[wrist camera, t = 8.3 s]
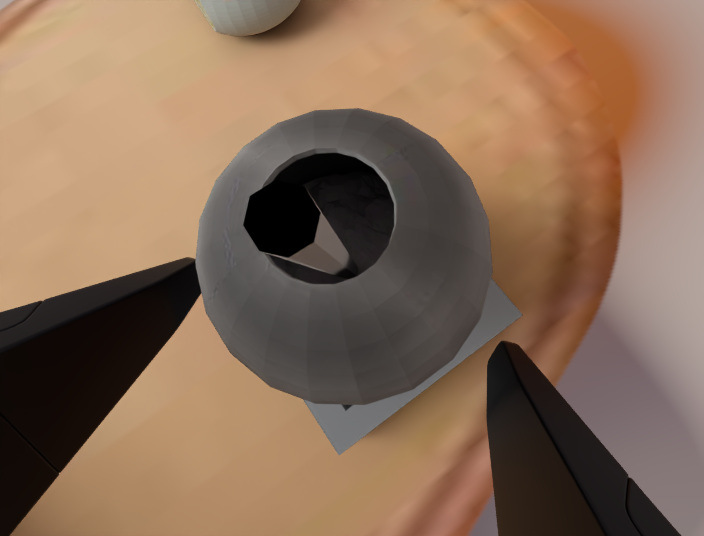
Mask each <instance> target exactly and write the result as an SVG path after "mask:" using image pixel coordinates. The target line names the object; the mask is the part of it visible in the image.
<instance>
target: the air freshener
mask: <svg viewBox="0 0 704 536" xmlns="http://www.w3.org/2000/svg"><path fill="white" fill-rule="evenodd" d="M194 1H195V2H196V4H197V5H198V7H199V9H200V10H201V12H202V13H203V15H204V16H205V18H206V19H207V21H208V22H209V24H210V25H211V26H212V28H213V29H214V30H215V31H216V32H218V33H221V34H226V35H232V36H247V35H254V34H258V33H262V32H264V31H267V30H269V29H271V28H273V27H275V26H277V25H278V24H280V23H281V22H282V21H284V20H285V19H286V18H287V17H288V16H289V15H290V14H291V13H292V12H293V11H294V10H295V9H296V7H297V6H298V4H299V3H300V1H301V0H194Z"/></svg>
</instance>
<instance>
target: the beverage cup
mask: <svg viewBox="0 0 704 536" xmlns="http://www.w3.org/2000/svg"><path fill="white" fill-rule="evenodd" d="M195 263H196V270H197V274H198V279H199V284H200V288H201V293H202V297H203V302H204V306H205V311H206V314H207V315H208V317H209V319H210V320H211V322H212V324H213V325H214V327H215V329H216V330H217V332H218V334H219V335H220V337H221V338H222V340H223V342H224V343H225V345H226V347H227V348H228V350H229V352H230V353H231V354H232V355H233V356H234V357H235V358H237V359H238V360H239V361H240V362H241V363H243V364H244V365H245V366H246V367H247V368H249V369H250V370H251V371H252V372H253V373H255V374H256V375H257V376H258V377H259V378H261V379H262V380H263V381H264V382H265V383H267V384H268V385H269V386H270V387H272V388H275V389H278V390H280V391H283V392H286V393H288V394H291V395H294V396H296V397H299V398H302V399H304V400H307V401H310V402H312V403H315V404H343V405H367V404H370V403H373V402H376V401H379V400H383V399H386V398H389V397H392V396H395V395H398V394H401V393H404V392H408V391H411V390H413V389H415V388H416V387H417V386H419V385H420V384H421V383H423V382H424V381H425V380H427V379H428V378H429V377H431V376H432V375H433V374H435V373H436V372H437V371H439V370H440V369H441V368H443V367H444V366H445V365H447V364H448V363H449V362H451V361H452V360H453V359H454V357H455V356H456V354H457V353H458V352H459V350H460V349H461V347H462V346H463V344H464V343H465V341H466V340H467V338H468V337H469V335H470V334H471V332H472V331H473V329H474V328H475V326H476V325H477V323H478V322H479V320H480V319H481V315H482V311H483V307H484V303H485V300H486V296H487V292H488V288H489V284H490V281H491V277H492V273H493V271H492V258H491V245H490V232H489V220H488V217H487V215H486V213H485V210H484V208H483V206H482V203H481V201H480V199H479V196H478V194H477V192H476V189H475V187H474V185H473V182H472V180H471V178H470V177H469V176H468V175H467V173H466V172H465V171H464V170H463V169H462V168H461V167H460V166H459V164H458V163H457V162H456V161H455V160H454V159H453V158H452V157H451V155H450V154H449V153H448V152H447V151H446V150H445V149H444V148H443V146H442V145H441V144H440V143H439V142H438V141H437V140H436V139H434V138H432V137H431V136H429V135H427V134H426V133H424V132H422V131H420V130H419V129H417V128H415V127H414V126H412V125H410V124H409V123H407V122H405V121H404V120H402V119H400V118H396V117H392V116H388V115H384V114H380V113H376V112H372V111H368V110H363V109H359V108H357V109H336V110H316V111H312V112H309V113H306V114H303V115H300V116H298V117H295V118H292V119H289V120H286V121H283V122H280V123H277V124H276V125H274V126H273V127H271V128H270V129H268V130H267V131H265V132H264V133H263V134H261V135H260V136H258V137H257V138H255V139H254V140H252V141H251V142H250V143H248V144H247V145H245V146H244V147H243V148H242V149H241V150H240V152H239V153H238V154H237V155H236V157H235V158H234V159H233V160H232V161H231V163H230V164H229V165H228V166H227V168H226V169H225V170H224V171H223V172H222V174H221V175H220V176H219V177H218V179H217V180H216V182H215V184H214V186H213V189H212V191H211V193H210V196H209V198H208V201H207V203H206V205H205V208H204V210H203V213H202V215H201V217H200V220H199V231H198V241H197V251H196V262H195Z"/></svg>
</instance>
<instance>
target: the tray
mask: <svg viewBox="0 0 704 536" xmlns="http://www.w3.org/2000/svg"><path fill="white" fill-rule="evenodd" d="M521 316H522V313H521V312H520V311H519V310H518V309H517V308H516V306H515V305H514V304H513V303H512V302H511V300H510V299H509V298H508V297H507V296H506V295H505V293H504V292H503V291H502V290H501V289H500V287H499V286H498V285H497V284H496V283H495V282H494V280H493V279H492V278H491V281H490V284H489V288H488V292H487V296H486V300H485V303H484V307H483V311H482V315H481V319H480V320H479V322H478V323H477V325H476V326H475V328H474V329H473V331H472V332H471V334H470V335H469V337H468V338H467V340H466V341H465V343H464V344H463V346H462V347H461V349H460V350H459V352H458V353H457V354H456V356H455V357H454V359H453V360H452V361H451V362H449V363H448V364H447V365H445V366H444V367H443V368H441V369H440V370H439V371H437V372H436V373H435V374H433V375H432V376H431V377H429V378H428V379H427V380H425V381H424V382H423V383H421V384H420V385H419V386H417V387H416V388H415V389H413V390H411V391H408V392H404V393H401V394H398V395H395V396H392V397H389V398H386V399H383V400H379V401H376V402H373V403H370V404H367V405H343V404H315V403H312V402H310V401H307V400H304V399H303V400H304V402H305V403H306V405H307V406H308V408H309V409H310V411H311V413H312V414H313V416H314V417H315V419H316V420H317V422H318V424H319V425H320V427H321V428H322V430H323V431H324V433H325V434H326V436H327V438H328V439H329V441H330V442H331V444H332V445H333V447H334V448H335V450H336V452H337V453H338V455H340V454H342V453H343V452H344V451H345V450H347V449H348V448H349V447H351V446H352V445H353V444H355V443H356V442H357V441H359V440H360V439H361V438H362V437H364V436H365V435H366V434H368V433H369V432H370V431H372V430H373V429H374V428H376V427H377V426H378V425H380V424H381V423H382V422H383V421H385V420H386V419H387V418H389V417H390V416H391V415H393V414H394V413H395V412H397V411H398V410H399V409H400V408H402V407H403V406H404V405H406V404H407V403H408V402H410V401H411V400H412V399H414V398H415V397H416V396H417V395H419V394H420V393H421V392H423V391H424V390H425V389H427V388H428V387H429V386H431V385H432V384H433V383H434V382H436V381H437V380H438V379H440V378H441V377H442V376H444V375H445V374H446V373H448V372H449V371H450V370H452V369H453V368H454V367H455V366H457V365H458V364H459V363H461V362H462V361H463V360H465V359H466V358H467V357H469V356H470V355H471V354H472V353H474V352H475V351H476V350H478V349H479V348H480V347H482V346H483V345H484V344H486V343H487V342H488V341H489V340H491V339H492V338H493V337H495V336H496V335H497V334H499V333H500V332H501V331H503V330H504V329H505V328H506V327H508V326H509V325H510V324H512V323H513V322H514V321H516V320H517V319H518V318H520V317H521Z"/></svg>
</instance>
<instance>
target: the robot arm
mask: <svg viewBox="0 0 704 536" xmlns="http://www.w3.org/2000/svg"><path fill="white" fill-rule="evenodd" d="M195 262H196V259H194V258H189V257H186V258H183V259H179V260H176V261H173V262H169V263H166V264H163V265H159V266H156V267H153V268H149V269H146V270H142V271H139V272H136V273H132V274H129V275H126V276H122V277H119V278H115V279H112V280H109V281H105V282H102V283H99V284H95V285H92V286H89V287H85V288H82V289H78V290H75V291H72V292H68V293H65V294H62V295H58V296H55V297H51V298H48V299H45V300H44V301H38V302H34V303H31V304H28V305H24V306H21V307H18V308H14V309H10V310H7V311H3V312H0V536H10V534H11V533H12V532H13V531H14V529H15V528H16V527H17V526H18V525H19V523H20V522H21V521H22V520H23V518H24V517H25V516H26V515H27V514H28V512H29V511H30V510H31V509H32V507H33V506H34V505H35V504H36V502H37V501H38V500H39V499H40V498H41V496H42V495H43V494H44V493H45V491H46V490H47V489H48V488H49V487H50V485H51V484H52V483H53V482H54V480H55V479H56V478H57V477H58V475H59V473H60V472H61V471H62V470H63V469H64V468H65V467H66V465H67V464H68V463H69V462H70V460H71V459H72V458H73V457H74V455H75V454H76V453H77V452H78V451H79V449H80V448H81V447H82V446H83V444H84V443H85V442H86V441H87V440H88V438H89V437H90V436H91V435H92V433H93V432H94V431H95V430H96V428H97V427H98V426H99V425H100V424H101V422H102V421H103V420H104V419H105V417H106V416H107V415H108V414H109V413H110V411H111V410H112V409H113V408H114V406H115V405H116V404H117V403H118V401H119V400H120V399H121V398H122V397H123V395H124V394H125V393H126V392H127V390H128V389H129V388H130V387H131V385H132V384H133V383H134V382H135V381H136V379H137V378H138V377H139V376H140V374H141V373H142V372H143V371H144V370H145V368H146V367H147V366H148V365H149V363H150V362H151V361H152V360H153V358H154V357H155V356H156V355H157V354H158V352H159V351H160V350H161V349H162V347H163V346H164V345H165V344H166V343H167V341H168V340H169V339H170V338H171V336H172V335H173V334H174V333H175V331H176V330H177V329H178V327H179V326H180V324H181V323H182V322H183V320H184V319H185V317H186V316H187V314H188V312H189V311H190V309H191V308H192V306H193V305H194V303H195V302H196V300H197V299H198V297H199V296H200V294H201V288H200V284H199V279H198V274H197V270H196V263H195ZM487 429H488V439H489V449H490V459H491V468H492V478H493V488H494V497H495V507H496V516H497V527H498V536H681V535H680V534H679V533H678V531H677V530H676V529H675V528H674V527H673V526H672V525H671V524H670V522H669V521H668V520H667V519H666V518H665V517H664V516H663V514H662V513H661V512H660V511H659V510H658V509H657V507H656V506H655V505H654V504H653V503H652V502H651V501H650V499H649V498H648V497H647V496H646V495H645V494H644V493H643V491H642V490H641V489H640V488H639V487H638V485H637V484H636V483H635V482H634V481H633V479H631V478H628V474H627V473H626V471H625V470H624V469H623V468H622V467H621V465H620V464H619V463H618V462H617V461H616V459H615V458H614V457H613V456H612V455H611V454H610V452H609V451H608V450H607V449H606V448H605V447H604V445H603V444H602V443H601V442H600V441H599V439H598V438H597V437H596V436H595V435H594V434H593V432H592V431H591V430H590V429H589V428H588V427H587V425H586V424H585V423H584V422H583V421H582V420H581V418H580V417H579V416H578V415H577V413H576V412H575V411H574V410H573V409H572V408H571V406H570V405H569V404H568V403H567V402H566V400H565V399H564V398H563V397H562V396H561V395H560V393H559V392H558V391H557V390H556V389H555V387H554V386H553V385H552V384H551V383H550V382H549V380H548V379H547V378H546V377H545V376H544V374H543V373H542V372H541V371H540V370H539V369H538V367H537V366H536V365H535V364H534V363H533V361H532V360H531V359H530V358H529V357H528V356H527V354H526V353H525V352H524V351H523V350H522V348H521V347H520V346H519V345H517V344H515V343H511V342H508V341H501V342H500V343H499V344H498V345H497V347H496V349H495V350H494V352H493V354H492V355H491V357H490V359H489V361H488V365H487Z"/></svg>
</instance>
